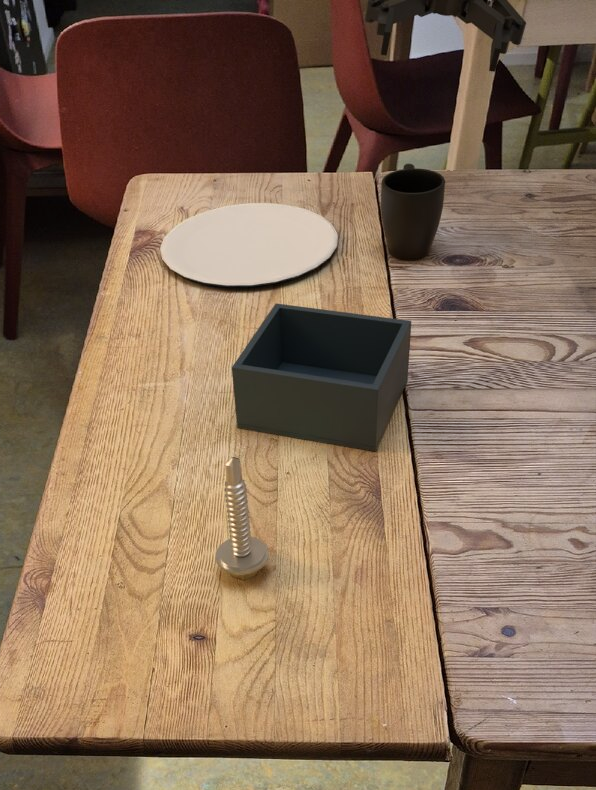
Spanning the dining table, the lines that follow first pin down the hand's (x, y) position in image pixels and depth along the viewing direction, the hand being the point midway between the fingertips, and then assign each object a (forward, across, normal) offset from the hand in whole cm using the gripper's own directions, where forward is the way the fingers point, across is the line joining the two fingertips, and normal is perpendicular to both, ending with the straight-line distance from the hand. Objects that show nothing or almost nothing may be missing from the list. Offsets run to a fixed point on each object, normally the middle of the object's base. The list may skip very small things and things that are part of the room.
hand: (439, 52), depth 114 cm
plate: (+10, +21, -25) cm, 34 cm away
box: (+46, +6, -16) cm, 49 cm away
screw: (+73, +10, -13) cm, 75 cm away
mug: (+8, -1, -22) cm, 23 cm away
